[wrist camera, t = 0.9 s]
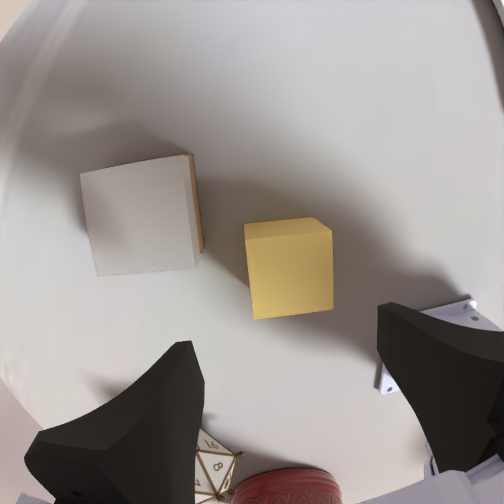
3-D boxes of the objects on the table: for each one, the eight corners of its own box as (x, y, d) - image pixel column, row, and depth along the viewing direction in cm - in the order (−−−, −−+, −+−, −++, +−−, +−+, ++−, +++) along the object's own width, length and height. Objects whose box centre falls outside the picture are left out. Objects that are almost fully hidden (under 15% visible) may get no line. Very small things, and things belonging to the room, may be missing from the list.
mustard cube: (312, 216, 20) (332, 230, 16) (315, 281, 21) (333, 309, 17) (243, 223, 20) (244, 239, 16) (250, 288, 21) (253, 319, 17)
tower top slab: (188, 156, 17) (181, 155, 15) (200, 256, 19) (195, 268, 16) (96, 172, 17) (79, 173, 15) (110, 265, 18) (97, 276, 16)
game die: (180, 405, 28) (106, 429, 19) (256, 411, 25) (191, 451, 16) (191, 478, 26) (128, 514, 17) (264, 490, 23) (211, 546, 14)
